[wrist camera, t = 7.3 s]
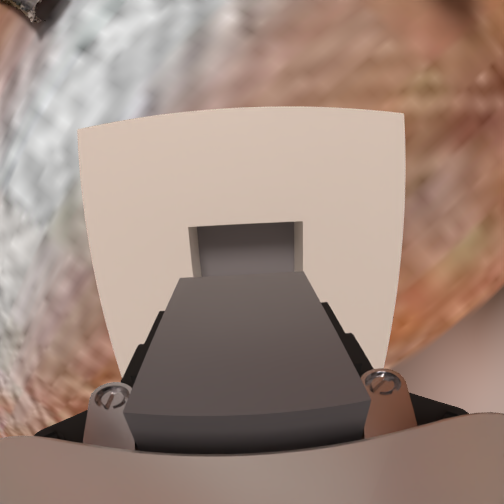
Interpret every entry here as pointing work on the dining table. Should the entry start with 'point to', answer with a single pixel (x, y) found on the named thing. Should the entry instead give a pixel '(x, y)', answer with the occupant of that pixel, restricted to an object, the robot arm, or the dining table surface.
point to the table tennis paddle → (25, 8)
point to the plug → (245, 371)
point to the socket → (246, 210)
